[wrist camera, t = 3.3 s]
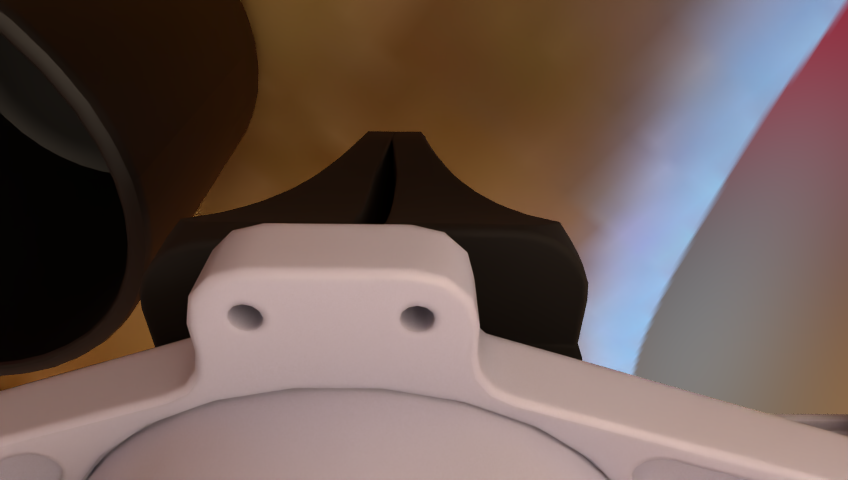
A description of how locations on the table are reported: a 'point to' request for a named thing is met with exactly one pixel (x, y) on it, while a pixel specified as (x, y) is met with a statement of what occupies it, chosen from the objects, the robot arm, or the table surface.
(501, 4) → the table surface
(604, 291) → the table surface
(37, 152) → the mug
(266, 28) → the table surface
